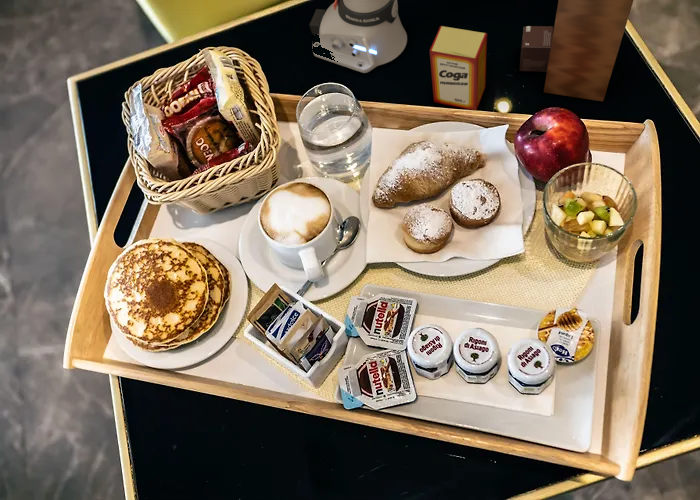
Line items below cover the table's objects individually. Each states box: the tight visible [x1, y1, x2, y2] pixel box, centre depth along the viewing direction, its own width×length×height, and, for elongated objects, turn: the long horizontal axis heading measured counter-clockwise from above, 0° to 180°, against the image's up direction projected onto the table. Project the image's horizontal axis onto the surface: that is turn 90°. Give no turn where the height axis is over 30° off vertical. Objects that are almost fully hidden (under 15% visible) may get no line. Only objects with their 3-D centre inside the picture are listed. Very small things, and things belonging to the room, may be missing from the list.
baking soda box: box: [429, 25, 488, 111], centre depth 124 cm, size 10×6×16 cm
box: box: [518, 25, 554, 73], centre depth 128 cm, size 6×6×7 cm
